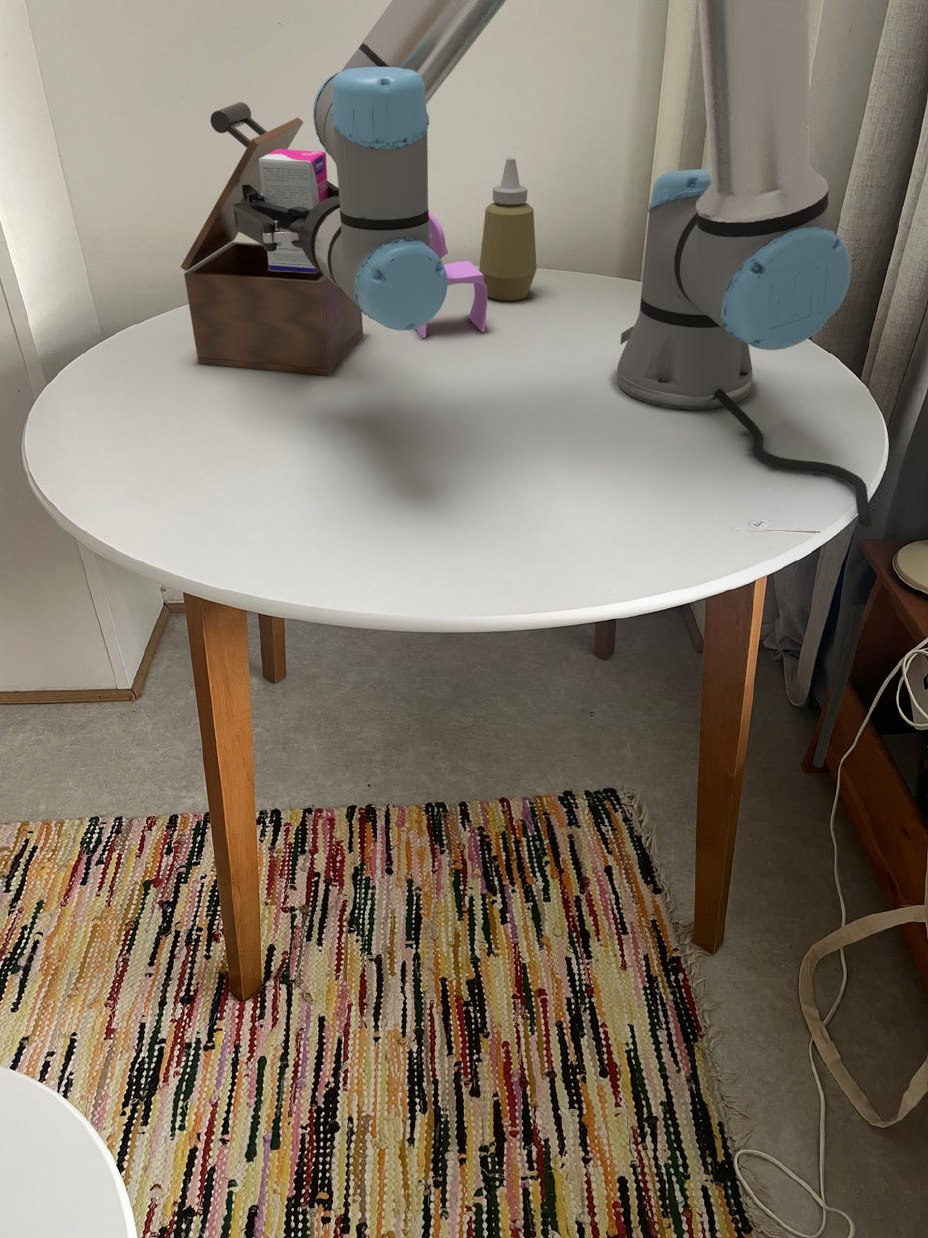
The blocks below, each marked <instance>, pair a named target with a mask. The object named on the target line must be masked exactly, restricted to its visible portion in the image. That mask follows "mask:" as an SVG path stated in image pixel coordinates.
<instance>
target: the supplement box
mask: <svg viewBox="0 0 928 1238" xmlns="http://www.w3.org/2000/svg"><path fill="white" fill-rule="evenodd" d="M259 165H260V176H261V187H262V193H261V195H262V196H263V197H264V198H265V202H266V203H270V204H273V205H277V206H281V207H285V208H293V207H298V206H300V207H304V208H308V209H312V208H314V207H315V206H316V205H317V204H319V203H320V202H321V201H323V200H325V199H327V198H328V183H327V181H328V169H327V152H326V151H319V150H297V149H287V150H285V149H277V150H275V151H273V152H271V153H269V154H267V155H265V156H264V157H262V158H260V159H259ZM267 252H268V264H269V270H270V271H284V272H301V273H317V272H318V270H317V269H316V268H315V267H314V266H313V265H312V264H311V262H310V261H309V260H308V258H307V256H306V255H305V253H304V251H303V249H302V248H298V247H295V246H293V245H292V243H291V242H281V246H280V247H277V250H275V251H273V252H269V251H267Z"/></svg>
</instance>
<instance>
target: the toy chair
mask: <svg viewBox="0 0 928 1238" xmlns="http://www.w3.org/2000/svg"><path fill="white" fill-rule="evenodd" d="M429 228H430V246H431V247H432V248H433V249H434V252H435V253H436V254H437V255H438V257H439V258H440V260H441V261H442V258H444V257H445V256H447V255H448V253H449V251H448V248H447V243H446V238H445V237H446V236H445V232H444V230H443V227H442V225H441V223H440V221H439V219H438V218H437V217H436V216H435V215H434V213H433V212H432V211H431V210H430V209H429ZM443 265H444V267H445V270H446V274H447V281H448V286H452V285H459V284H473V289H474V297H473V303H472V306H471V309H470V312H469V314H468V319H469V320H470V321H471V322H472V323H473V324H474V326H475V327H476V328H477V329H478V330H479V331H480V332H481V333H485V332H486V321H487V307H488V295H487V286H486V284H485V283H484V275H483V274H482V273H481V272H480V271H479V269H477V268H476V267H475V265H474V264H473V262H472V261H470V260H464V261H462V260H461V261H456V262H449V263H443ZM427 324H428V322H427V323H426V324H424V325H422V326H420V327H418V328H416V329H415V330H416V331H417V333H418V334H419V336H420V337H421V338H422V339H426V338H427Z"/></svg>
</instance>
